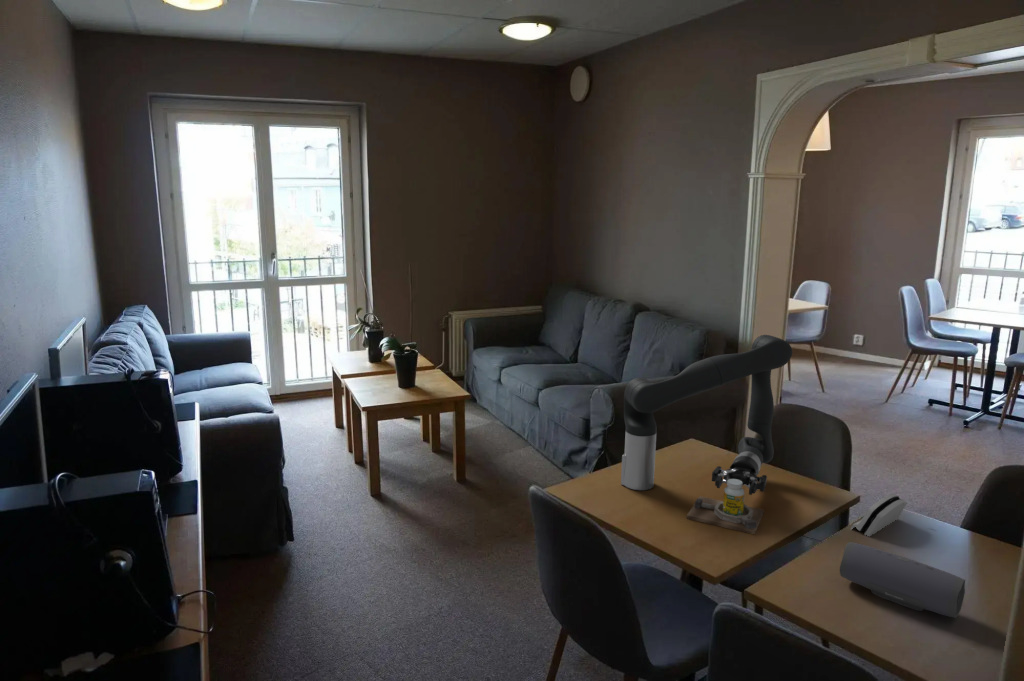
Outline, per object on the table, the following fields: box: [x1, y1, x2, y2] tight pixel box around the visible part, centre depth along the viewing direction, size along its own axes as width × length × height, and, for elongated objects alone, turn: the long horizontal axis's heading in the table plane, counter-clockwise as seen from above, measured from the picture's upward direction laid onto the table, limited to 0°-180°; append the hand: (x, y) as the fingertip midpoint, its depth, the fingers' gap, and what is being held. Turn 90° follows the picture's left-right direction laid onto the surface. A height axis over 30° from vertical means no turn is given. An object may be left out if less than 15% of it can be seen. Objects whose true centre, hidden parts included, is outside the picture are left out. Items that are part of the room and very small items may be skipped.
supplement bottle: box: [722, 479, 745, 516], centre depth 188 cm, size 5×5×10 cm
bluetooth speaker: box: [839, 541, 966, 619], centre depth 150 cm, size 23×9×10 cm, turn 46°
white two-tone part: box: [850, 493, 908, 537], centre depth 184 cm, size 17×5×10 cm, turn 127°
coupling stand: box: [686, 495, 765, 535], centre depth 189 cm, size 18×14×3 cm
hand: (734, 488), depth 185 cm, fingers open, 8 cm apart
